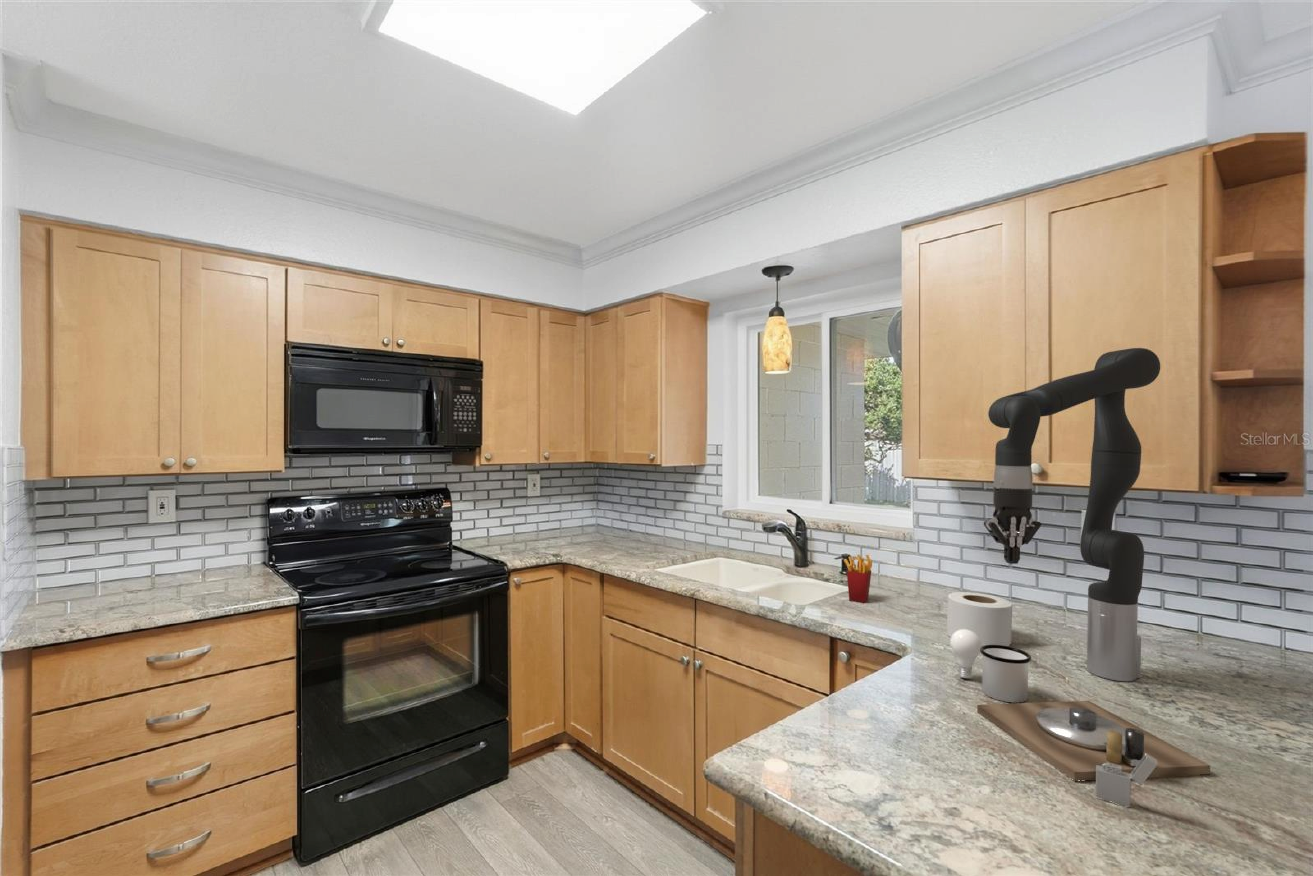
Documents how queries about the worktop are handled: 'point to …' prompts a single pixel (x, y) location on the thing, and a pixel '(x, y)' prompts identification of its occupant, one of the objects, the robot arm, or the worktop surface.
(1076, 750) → the walnut board
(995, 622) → the toilet paper roll
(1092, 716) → the pot lid with knob
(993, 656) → the mug
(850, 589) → the french fries
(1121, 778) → the lighter
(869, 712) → the worktop surface
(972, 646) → the lightbulb
